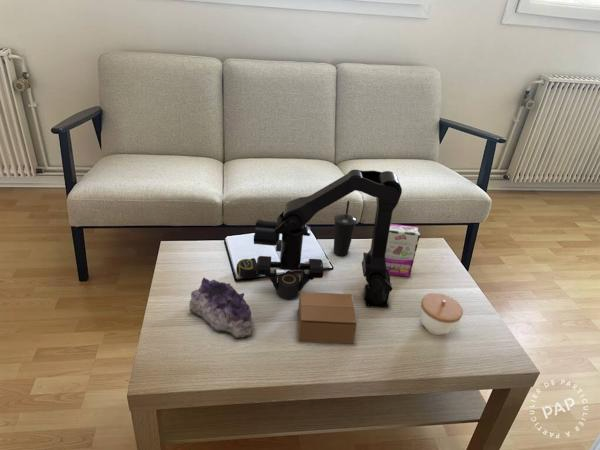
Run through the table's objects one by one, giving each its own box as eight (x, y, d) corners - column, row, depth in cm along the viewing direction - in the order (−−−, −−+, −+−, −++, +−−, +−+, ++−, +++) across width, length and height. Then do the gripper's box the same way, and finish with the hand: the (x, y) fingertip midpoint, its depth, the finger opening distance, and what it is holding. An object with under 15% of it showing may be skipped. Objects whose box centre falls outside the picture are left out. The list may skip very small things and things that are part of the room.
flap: (300, 306, 107) (300, 305, 107) (300, 292, 112) (300, 291, 111) (353, 308, 108) (353, 307, 108) (351, 295, 112) (351, 294, 112)
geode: (267, 322, 111) (267, 297, 105) (237, 351, 103) (234, 325, 97) (215, 287, 120) (211, 262, 114) (183, 311, 113) (178, 285, 107)
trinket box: (449, 347, 108) (459, 321, 103) (410, 329, 112) (418, 303, 108) (459, 324, 116) (469, 298, 111) (422, 308, 121) (430, 283, 116)
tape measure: (260, 279, 126) (261, 269, 125) (238, 282, 124) (238, 272, 122) (255, 266, 132) (256, 256, 130) (234, 268, 130) (234, 258, 128)
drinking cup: (326, 255, 140) (333, 203, 130) (333, 244, 146) (340, 193, 136) (348, 261, 138) (356, 209, 128) (354, 250, 144) (363, 199, 134)
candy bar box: (407, 268, 137) (418, 226, 129) (409, 277, 133) (421, 234, 125) (374, 264, 138) (383, 222, 130) (374, 273, 134) (384, 230, 125)
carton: (298, 341, 106) (301, 320, 102) (298, 311, 115) (300, 291, 112) (352, 343, 106) (357, 322, 103) (347, 314, 116) (351, 294, 112)
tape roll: (298, 286, 125) (299, 272, 122) (298, 300, 119) (300, 286, 117) (277, 285, 125) (278, 271, 122) (276, 299, 119) (277, 285, 116)
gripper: (323, 232, 121) (318, 274, 129) (259, 228, 120) (258, 271, 128) (326, 253, 111) (320, 298, 119) (256, 250, 110) (255, 295, 118)
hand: (288, 289), depth 121 cm, fingers closed on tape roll, 6 cm apart
